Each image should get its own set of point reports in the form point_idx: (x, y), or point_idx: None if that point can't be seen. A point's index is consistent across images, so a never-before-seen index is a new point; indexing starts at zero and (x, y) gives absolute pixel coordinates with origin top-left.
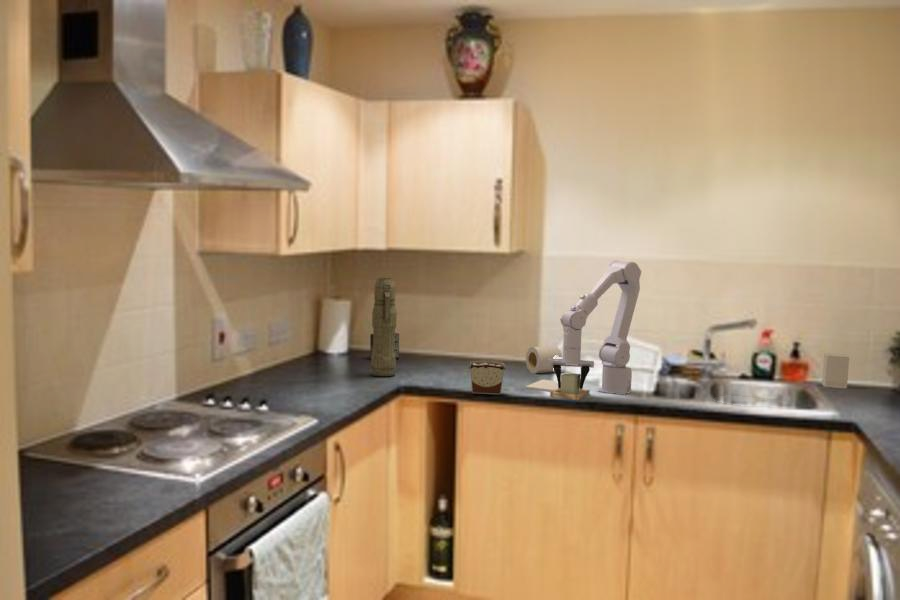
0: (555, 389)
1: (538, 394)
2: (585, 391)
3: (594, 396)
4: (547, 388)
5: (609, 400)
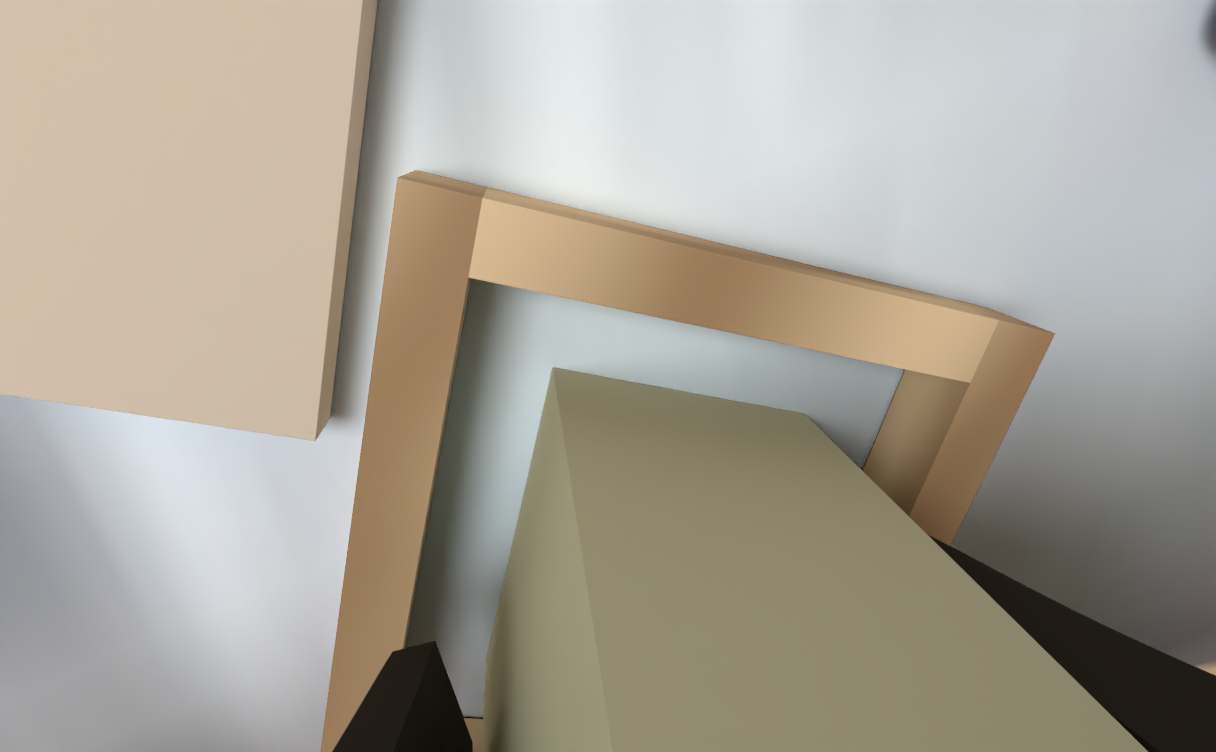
0: (273, 353)
1: (68, 687)
2: (950, 508)
3: (1049, 425)
4: (36, 316)
5: (1207, 591)
